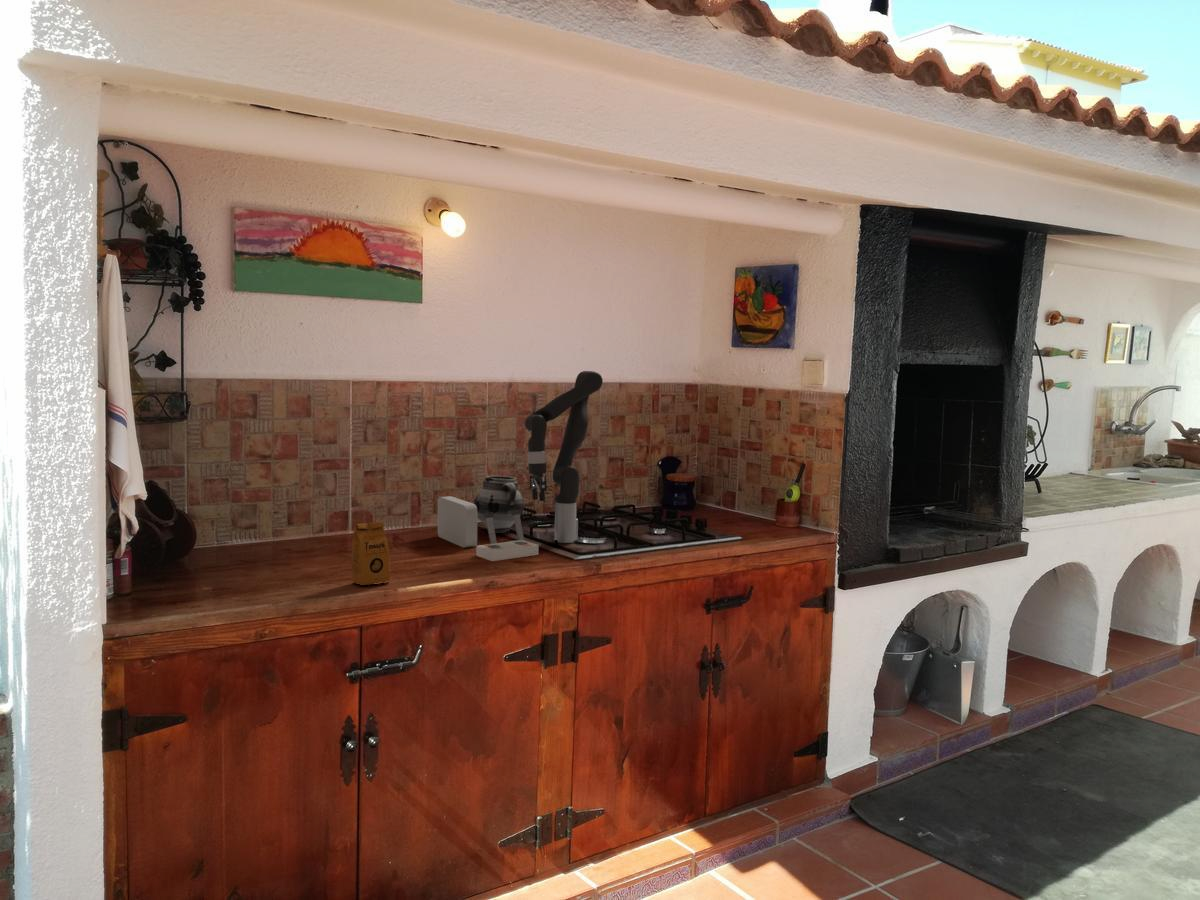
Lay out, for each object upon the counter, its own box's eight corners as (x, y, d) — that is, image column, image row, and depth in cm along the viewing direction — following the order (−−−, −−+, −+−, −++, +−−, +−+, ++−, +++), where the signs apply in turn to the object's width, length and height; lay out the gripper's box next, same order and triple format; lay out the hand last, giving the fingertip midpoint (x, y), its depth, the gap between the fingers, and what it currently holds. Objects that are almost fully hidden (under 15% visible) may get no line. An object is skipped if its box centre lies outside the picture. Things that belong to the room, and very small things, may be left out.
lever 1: (495, 543, 387) (489, 513, 389) (498, 542, 385) (493, 511, 387) (488, 544, 385) (483, 513, 387) (492, 543, 383) (486, 512, 385)
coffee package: (393, 584, 339) (393, 523, 336) (358, 589, 332) (358, 526, 330) (383, 578, 347) (382, 518, 345) (349, 582, 340) (348, 521, 338)
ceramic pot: (461, 527, 445) (462, 474, 442) (505, 523, 458) (505, 471, 455) (491, 538, 421) (492, 482, 419) (536, 533, 434) (537, 479, 432)
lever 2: (522, 540, 395) (516, 510, 397) (525, 539, 393) (520, 509, 395) (516, 541, 393) (510, 511, 395) (519, 539, 391) (514, 509, 393)
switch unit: (522, 549, 401) (522, 538, 401) (538, 554, 392) (538, 543, 391) (476, 555, 388) (476, 544, 387) (492, 561, 378) (492, 550, 378)
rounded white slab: (482, 546, 405) (482, 504, 403) (465, 548, 400) (465, 505, 398) (453, 535, 428) (453, 494, 426) (437, 536, 424) (437, 496, 422)
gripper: (551, 462, 402) (552, 501, 403) (539, 461, 415) (541, 498, 416) (534, 463, 399) (536, 502, 400) (523, 462, 412) (524, 499, 413)
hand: (538, 500), depth 408 cm, fingers open, 8 cm apart
